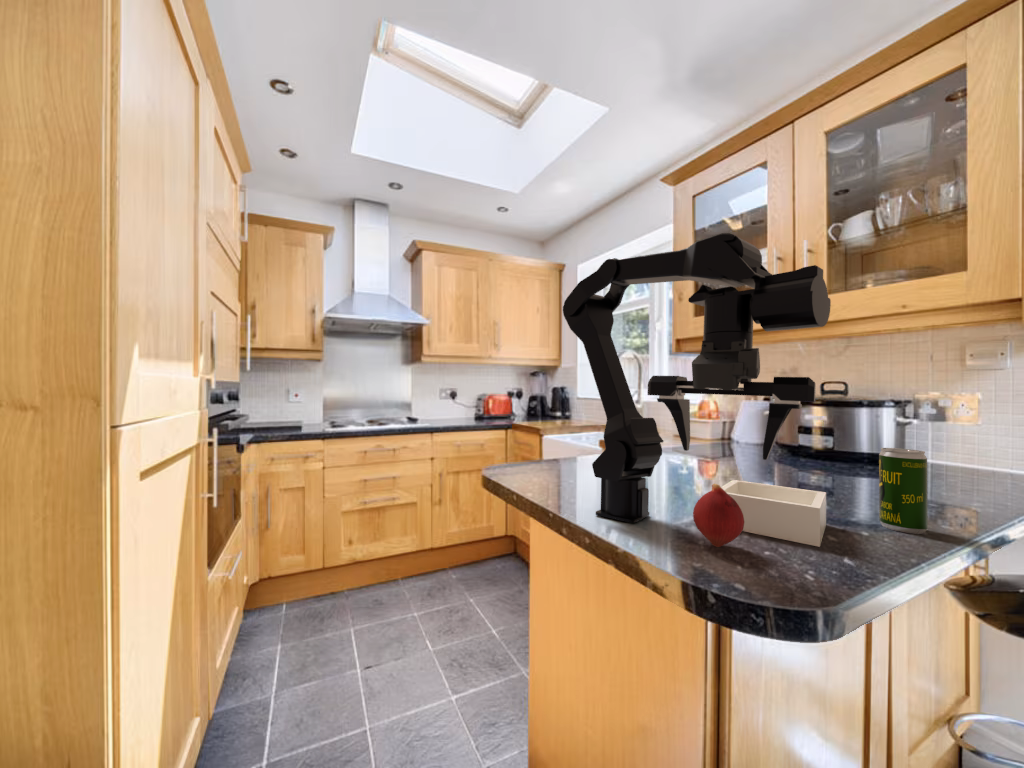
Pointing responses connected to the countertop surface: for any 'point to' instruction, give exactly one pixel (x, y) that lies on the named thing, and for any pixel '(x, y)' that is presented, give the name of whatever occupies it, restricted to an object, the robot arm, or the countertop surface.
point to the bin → (780, 511)
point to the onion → (718, 517)
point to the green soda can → (903, 490)
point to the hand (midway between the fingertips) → (723, 454)
